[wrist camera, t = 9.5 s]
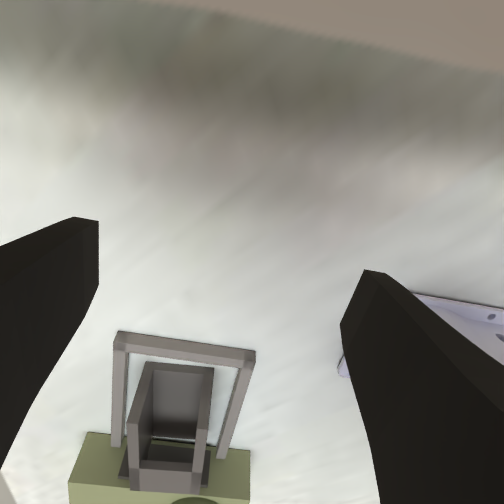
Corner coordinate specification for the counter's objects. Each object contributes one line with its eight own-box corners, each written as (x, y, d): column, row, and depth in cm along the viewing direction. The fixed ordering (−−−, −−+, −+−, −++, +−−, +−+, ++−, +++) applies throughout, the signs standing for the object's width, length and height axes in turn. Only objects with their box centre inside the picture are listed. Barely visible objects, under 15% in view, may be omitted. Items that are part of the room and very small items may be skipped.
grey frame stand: (285, 355, 26) (292, 419, 22) (239, 480, 35) (237, 542, 31) (84, 325, 25) (50, 387, 20) (88, 464, 33) (65, 527, 29)
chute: (146, 360, 27) (126, 423, 22) (214, 366, 27) (208, 429, 23) (146, 426, 31) (130, 490, 26) (205, 431, 31) (199, 494, 27)
